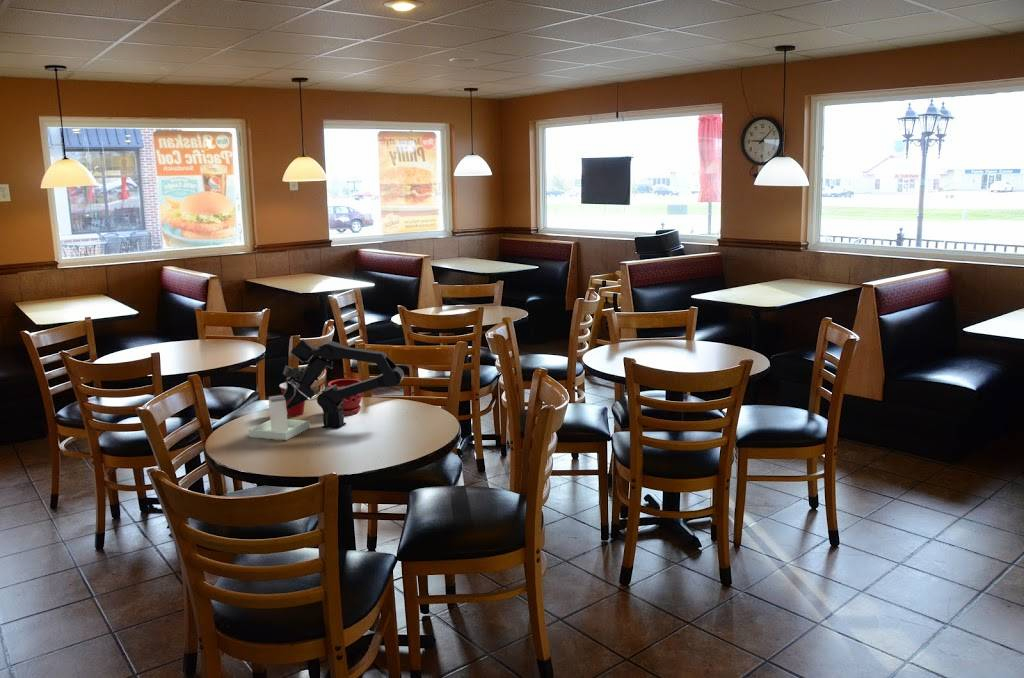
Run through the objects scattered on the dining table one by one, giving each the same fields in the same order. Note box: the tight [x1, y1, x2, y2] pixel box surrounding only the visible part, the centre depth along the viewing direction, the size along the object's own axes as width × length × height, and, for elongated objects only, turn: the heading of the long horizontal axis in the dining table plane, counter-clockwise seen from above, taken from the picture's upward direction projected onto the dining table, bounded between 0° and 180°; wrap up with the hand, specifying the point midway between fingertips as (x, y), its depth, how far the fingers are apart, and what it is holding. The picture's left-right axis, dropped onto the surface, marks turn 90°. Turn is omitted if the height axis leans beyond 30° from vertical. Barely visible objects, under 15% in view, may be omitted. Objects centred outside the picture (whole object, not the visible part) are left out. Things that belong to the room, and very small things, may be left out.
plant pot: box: [327, 378, 363, 416], centre depth 319 cm, size 13×13×12 cm
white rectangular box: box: [268, 394, 288, 432], centre depth 294 cm, size 5×5×12 cm
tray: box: [248, 418, 311, 441], centre depth 296 cm, size 15×15×3 cm
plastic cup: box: [279, 382, 306, 417], centre depth 319 cm, size 11×11×12 cm
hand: (284, 405), depth 295 cm, fingers open, 9 cm apart
